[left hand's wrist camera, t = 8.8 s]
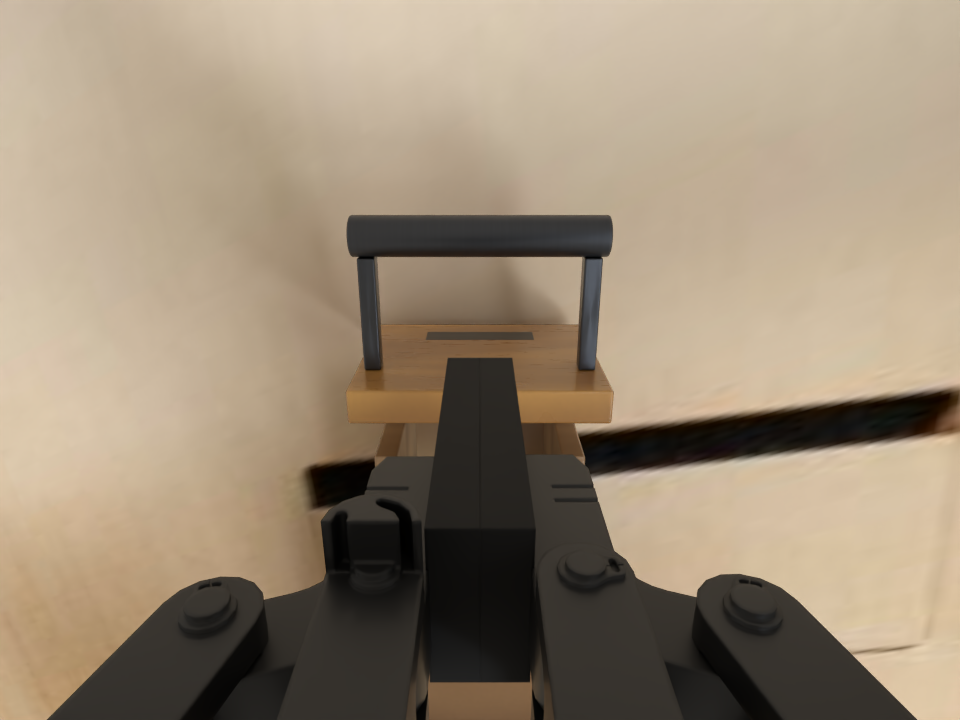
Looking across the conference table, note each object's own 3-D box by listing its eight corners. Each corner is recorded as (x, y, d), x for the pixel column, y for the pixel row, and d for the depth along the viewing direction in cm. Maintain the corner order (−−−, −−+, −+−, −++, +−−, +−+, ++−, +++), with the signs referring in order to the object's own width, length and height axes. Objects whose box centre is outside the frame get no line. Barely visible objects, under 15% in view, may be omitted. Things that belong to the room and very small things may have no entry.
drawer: (371, 197, 26) (331, 224, 19) (588, 197, 26) (627, 225, 19) (400, 680, 35) (380, 817, 28) (559, 680, 35) (579, 817, 28)
